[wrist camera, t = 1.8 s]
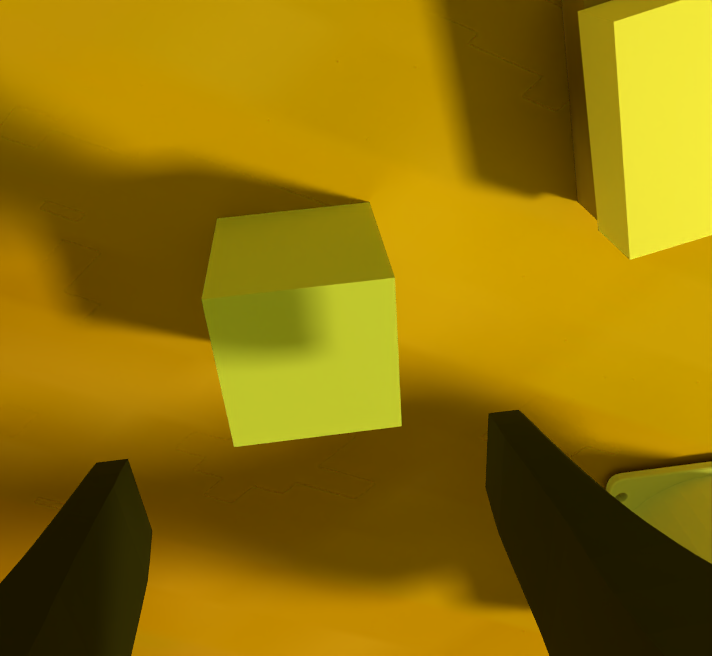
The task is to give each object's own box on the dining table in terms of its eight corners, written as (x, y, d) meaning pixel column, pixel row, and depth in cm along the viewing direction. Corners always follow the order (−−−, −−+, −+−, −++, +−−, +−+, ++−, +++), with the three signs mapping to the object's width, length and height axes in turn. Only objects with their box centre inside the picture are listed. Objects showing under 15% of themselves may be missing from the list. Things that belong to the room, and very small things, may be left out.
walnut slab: (761, 143, 21) (804, 162, 19) (571, 195, 21) (597, 220, 19) (777, -77, 18) (831, -77, 16) (553, -12, 18) (583, -4, 16)
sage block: (377, 329, 22) (401, 426, 18) (241, 345, 22) (233, 447, 18) (369, 201, 20) (394, 277, 16) (217, 217, 20) (201, 299, 15)
